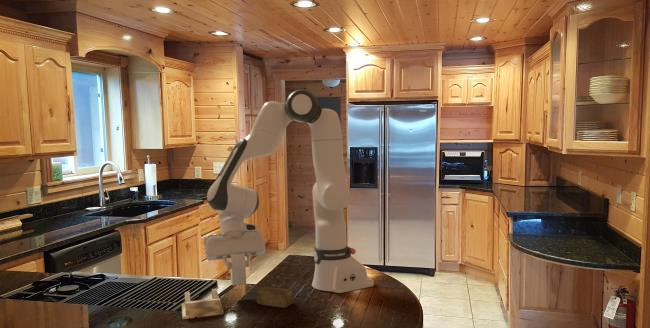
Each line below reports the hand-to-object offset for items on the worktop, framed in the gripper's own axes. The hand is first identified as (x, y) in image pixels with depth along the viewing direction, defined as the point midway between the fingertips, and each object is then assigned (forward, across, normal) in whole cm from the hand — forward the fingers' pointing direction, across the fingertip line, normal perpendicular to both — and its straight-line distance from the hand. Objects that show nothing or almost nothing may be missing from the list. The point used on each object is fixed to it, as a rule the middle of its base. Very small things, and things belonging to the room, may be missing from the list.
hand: (238, 267), depth 151 cm
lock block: (+3, 0, +4) cm, 5 cm away
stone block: (+14, +10, +1) cm, 18 cm away
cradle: (+12, -12, +3) cm, 17 cm away
